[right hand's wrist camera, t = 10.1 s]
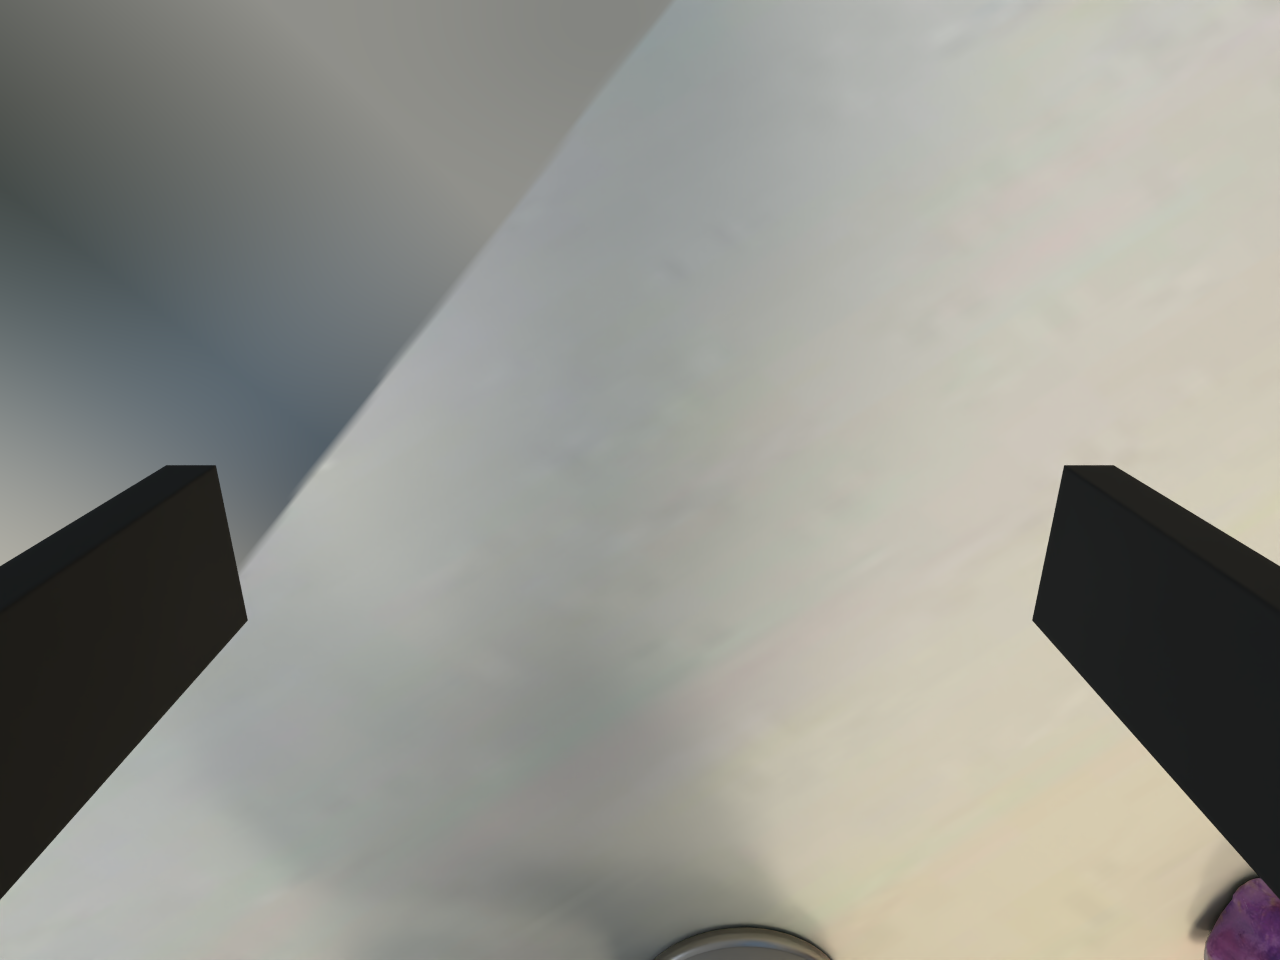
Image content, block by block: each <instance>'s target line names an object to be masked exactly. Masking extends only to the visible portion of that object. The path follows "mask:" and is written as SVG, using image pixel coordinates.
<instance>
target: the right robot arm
mask: <svg viewBox="0 0 1280 960" xmlns="http://www.w3.org/2000/svg"><path fill="white" fill-rule="evenodd" d="M247 621H248V619H247V615H246V610H245V605H244V600H243V595H242V590H241V585H240V581H239V576H238V571H237V566H236V561H235V556H234V552H233V547H232V542H231V537H230V532H229V527H228V522H227V518H226V513H225V508H224V503H223V498H222V493H221V488H220V484H219V479H218V474H217V469H216V466H215V465H166V466H165V467H163V468H161V469H160V470H158V471H156V472H155V473H153V474H151V475H150V476H148V477H146V478H145V479H143V480H141V481H140V482H138V483H137V484H135V485H133V486H132V487H130V488H128V489H127V490H125V491H123V492H122V493H120V494H118V495H117V496H115V497H113V498H112V499H110V500H109V501H107V502H105V503H104V504H102V505H100V506H99V507H97V508H95V509H94V510H92V511H90V512H89V513H87V514H85V515H84V516H82V517H81V518H79V519H77V520H76V521H74V522H72V523H71V524H69V525H67V526H66V527H64V528H62V529H61V530H59V531H57V532H56V533H54V534H53V535H51V536H49V537H48V538H46V539H44V540H43V541H41V542H39V543H38V544H36V545H34V546H33V547H31V548H30V549H28V550H26V551H25V552H23V553H21V554H20V555H18V556H16V557H15V558H13V559H11V560H10V561H8V562H6V563H5V564H3V565H2V566H0V899H1V898H2V897H3V896H4V895H5V894H6V893H7V891H8V890H9V889H10V888H11V887H12V886H13V885H14V884H15V882H16V881H17V880H18V879H19V878H20V877H21V876H22V874H23V873H24V872H25V871H26V870H27V869H28V868H29V867H30V865H31V864H32V863H33V862H34V861H35V860H36V859H37V858H38V856H39V855H40V854H41V853H42V852H43V851H44V850H45V849H46V847H47V846H48V845H49V844H50V843H51V842H52V841H53V840H54V838H55V837H56V836H57V835H58V834H59V833H60V832H61V830H62V829H63V828H64V827H65V826H66V825H67V824H68V823H69V821H70V820H71V819H72V818H73V817H74V816H75V815H76V814H77V812H78V811H79V810H80V809H81V808H82V807H83V806H84V805H85V803H86V802H87V801H88V800H89V799H90V798H91V797H92V795H93V794H94V793H95V792H96V791H97V790H98V789H99V788H100V786H101V785H102V784H103V783H104V782H105V781H106V780H107V779H108V777H109V776H110V775H111V774H112V773H113V772H114V771H115V770H116V768H117V767H118V766H119V765H120V764H121V763H122V762H123V761H124V759H125V758H126V757H127V756H128V755H129V754H130V753H131V751H132V750H133V749H134V748H135V747H136V746H137V745H138V744H139V742H140V741H141V740H142V739H143V738H144V737H145V736H146V735H147V733H148V732H149V731H150V730H151V729H152V728H153V727H154V726H155V724H156V723H157V722H158V721H159V720H160V719H161V718H162V716H163V715H164V714H165V713H166V712H167V711H168V710H169V709H170V707H171V706H172V705H173V704H174V703H175V702H176V701H177V700H178V698H179V697H180V696H181V695H182V694H183V693H184V692H185V691H186V689H187V688H188V687H189V686H190V685H191V684H192V683H193V681H194V680H195V679H196V678H197V677H198V676H199V675H200V674H201V672H202V671H203V670H204V669H205V668H206V667H207V666H208V665H209V663H210V662H211V661H212V660H213V659H214V658H215V657H216V656H217V654H218V653H219V652H220V651H221V650H222V649H223V648H224V647H225V645H226V644H227V643H228V642H229V641H230V640H231V639H232V637H233V636H234V635H235V634H236V633H237V632H238V631H239V630H240V628H241V627H242V626H243V625H244V624H245V623H246V622H247ZM1032 621H1033V622H1034V623H1035V624H1036V625H1037V626H1038V627H1039V628H1040V630H1041V631H1042V632H1043V633H1044V634H1045V635H1046V636H1047V637H1048V639H1049V640H1050V641H1051V642H1052V643H1053V644H1054V645H1055V647H1056V648H1057V649H1058V650H1059V651H1060V652H1061V653H1062V654H1063V656H1064V657H1065V658H1066V659H1067V660H1068V661H1069V662H1070V663H1071V665H1072V666H1073V667H1074V668H1075V669H1076V670H1077V671H1078V672H1079V674H1080V675H1081V676H1082V677H1083V678H1084V679H1085V680H1086V681H1087V683H1088V684H1089V685H1090V686H1091V687H1092V688H1093V689H1094V691H1095V692H1096V693H1097V694H1098V695H1099V696H1100V697H1101V698H1102V700H1103V701H1104V702H1105V703H1106V704H1107V705H1108V706H1109V707H1110V709H1111V710H1112V711H1113V712H1114V713H1115V714H1116V715H1117V716H1118V718H1119V719H1120V720H1121V721H1122V722H1123V723H1124V724H1125V726H1126V727H1127V728H1128V729H1129V730H1130V731H1131V732H1132V733H1133V735H1134V736H1135V737H1136V738H1137V739H1138V740H1139V741H1140V742H1141V744H1142V745H1143V746H1144V747H1145V748H1146V749H1147V750H1148V751H1149V753H1150V754H1151V755H1152V756H1153V757H1154V758H1155V759H1156V761H1157V762H1158V763H1159V764H1160V765H1161V766H1162V767H1163V768H1164V770H1165V771H1166V772H1167V773H1168V774H1169V775H1170V776H1171V777H1172V779H1173V780H1174V781H1175V782H1176V783H1177V784H1178V785H1179V786H1180V788H1181V789H1182V790H1183V791H1184V792H1185V793H1186V794H1187V795H1188V797H1189V798H1190V799H1191V800H1192V801H1193V802H1194V803H1195V805H1196V806H1197V807H1198V808H1199V809H1200V810H1201V811H1202V812H1203V814H1204V815H1205V816H1206V817H1207V818H1208V819H1209V820H1210V821H1211V823H1212V824H1213V825H1214V826H1215V827H1216V828H1217V829H1218V830H1219V832H1220V833H1221V834H1222V835H1223V836H1224V837H1225V838H1226V840H1227V841H1228V842H1229V843H1230V844H1231V845H1232V846H1233V847H1234V849H1235V850H1236V851H1237V852H1238V853H1239V854H1240V855H1241V856H1242V858H1243V859H1244V860H1245V861H1246V862H1247V863H1248V864H1249V865H1250V867H1251V868H1252V869H1253V870H1254V871H1255V872H1256V873H1257V875H1258V876H1259V877H1260V878H1261V879H1262V880H1263V881H1264V882H1265V884H1266V885H1267V886H1268V887H1269V888H1270V889H1271V890H1272V891H1273V893H1274V894H1275V895H1276V896H1277V897H1278V898H1279V899H1280V566H1278V565H1277V564H1275V563H1274V562H1272V561H1270V560H1269V559H1267V558H1265V557H1264V556H1262V555H1260V554H1259V553H1257V552H1255V551H1254V550H1252V549H1250V548H1249V547H1247V546H1246V545H1244V544H1242V543H1241V542H1239V541H1237V540H1236V539H1234V538H1232V537H1231V536H1229V535H1227V534H1226V533H1224V532H1223V531H1221V530H1219V529H1218V528H1216V527H1214V526H1213V525H1211V524H1209V523H1208V522H1206V521H1204V520H1203V519H1201V518H1199V517H1198V516H1196V515H1195V514H1193V513H1191V512H1190V511H1188V510H1186V509H1185V508H1183V507H1181V506H1180V505H1178V504H1176V503H1175V502H1173V501H1171V500H1170V499H1168V498H1167V497H1165V496H1163V495H1162V494H1160V493H1158V492H1157V491H1155V490H1153V489H1152V488H1150V487H1148V486H1147V485H1145V484H1144V483H1142V482H1140V481H1139V480H1137V479H1135V478H1134V477H1132V476H1130V475H1129V474H1127V473H1125V472H1124V471H1122V470H1120V469H1119V468H1117V467H1116V466H1114V465H1064V469H1063V474H1062V479H1061V484H1060V488H1059V493H1058V498H1057V503H1056V508H1055V513H1054V517H1053V522H1052V527H1051V532H1050V537H1049V542H1048V547H1047V551H1046V556H1045V561H1044V566H1043V571H1042V576H1041V581H1040V585H1039V590H1038V595H1037V600H1036V605H1035V610H1034V615H1033V619H1032ZM654 960H830V959H829V958H828V957H827V956H826V955H825V954H824V953H823V952H822V951H820V950H819V949H818V948H816V947H815V946H813V945H812V944H810V943H808V942H806V941H804V940H802V939H800V938H797V937H795V936H792V935H789V934H786V933H782V932H778V931H774V930H768V929H761V928H727V929H719V930H714V931H709V932H706V933H702V934H698V935H696V936H693V937H690V938H687V939H685V940H683V941H681V942H679V943H677V944H675V945H673V946H671V947H670V948H668V949H667V950H665V951H664V952H662V953H661V954H660V955H659V956H657V957H656V958H655V959H654Z"/></svg>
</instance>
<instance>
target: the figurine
mask: <svg viewBox="0 0 1280 960" xmlns="http://www.w3.org/2000/svg"><path fill="white" fill-rule="evenodd" d="M1204 960H1280V899H1279V898H1278V897H1277V896H1276V895H1275V894H1274V893H1273V891H1272V890H1271V889H1270V888H1269V887H1268V886H1267V885H1266V884H1265V882H1264V881H1263V880H1262V879H1261V878H1255V879H1252V880H1249V881H1247V882H1246V883H1245V884H1243V885H1241V886H1239V888H1238V889H1237V890H1236V892H1235V893H1234V894H1233V899H1232V900H1231V901H1230V903H1229V904H1228V905H1227V906H1226V908H1225V909H1224V910H1223V912H1222V913H1221V914H1220V916H1219V918H1218V920H1217V921H1216V923H1215V925H1214V927H1213V929H1212V931H1211V933H1210V935H1209V937H1208V938H1207V941H1206V944H1205V950H1204Z"/></svg>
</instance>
